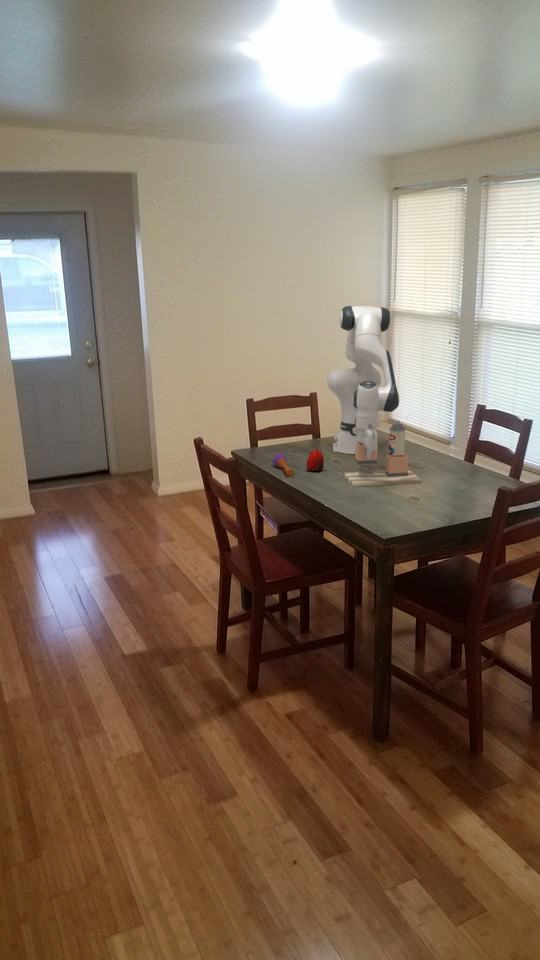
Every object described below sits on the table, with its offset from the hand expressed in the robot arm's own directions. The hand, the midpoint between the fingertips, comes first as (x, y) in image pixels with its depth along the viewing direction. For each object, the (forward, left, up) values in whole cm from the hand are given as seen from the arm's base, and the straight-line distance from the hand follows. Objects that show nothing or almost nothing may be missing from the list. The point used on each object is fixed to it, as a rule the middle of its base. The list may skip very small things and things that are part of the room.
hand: (366, 456), depth 300 cm
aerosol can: (-19, +18, -10) cm, 28 cm away
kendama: (-20, -31, -10) cm, 38 cm away
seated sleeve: (0, +13, -9) cm, 16 cm away
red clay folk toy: (-18, -18, -10) cm, 27 cm away
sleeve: (0, 0, -3) cm, 3 cm away
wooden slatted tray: (0, +6, -10) cm, 12 cm away
